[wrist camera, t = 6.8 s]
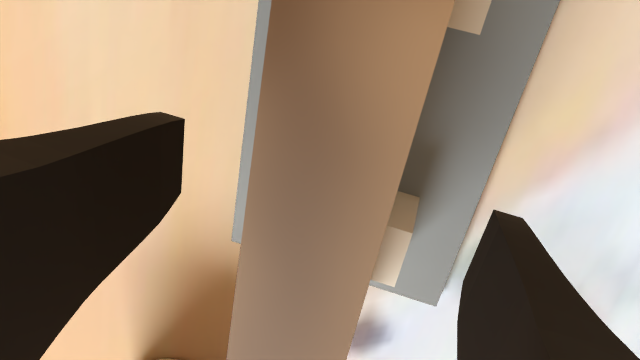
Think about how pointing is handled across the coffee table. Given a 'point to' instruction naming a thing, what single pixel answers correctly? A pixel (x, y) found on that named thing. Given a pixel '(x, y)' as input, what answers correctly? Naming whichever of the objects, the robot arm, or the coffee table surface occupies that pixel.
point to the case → (327, 167)
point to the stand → (439, 137)
